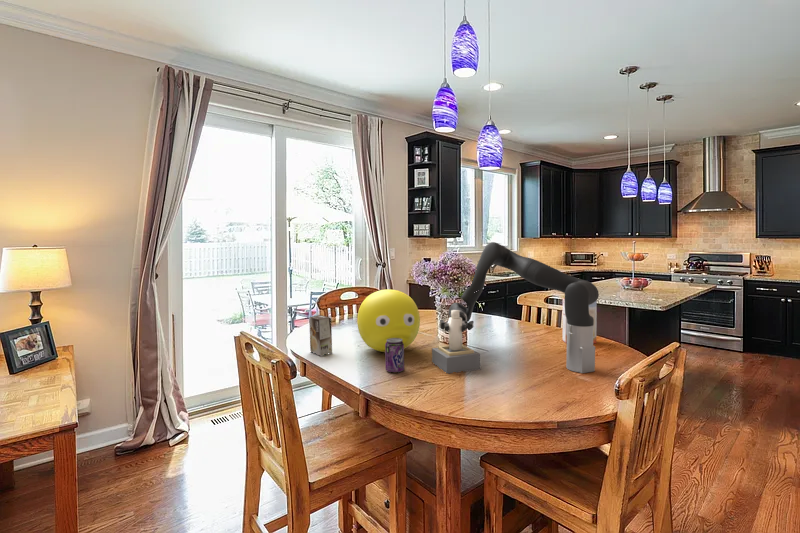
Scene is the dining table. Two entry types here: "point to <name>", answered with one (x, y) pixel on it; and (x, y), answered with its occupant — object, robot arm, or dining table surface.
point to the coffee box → (320, 335)
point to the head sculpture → (388, 318)
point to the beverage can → (394, 355)
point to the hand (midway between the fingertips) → (454, 329)
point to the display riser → (455, 359)
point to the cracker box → (592, 313)
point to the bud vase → (455, 331)
